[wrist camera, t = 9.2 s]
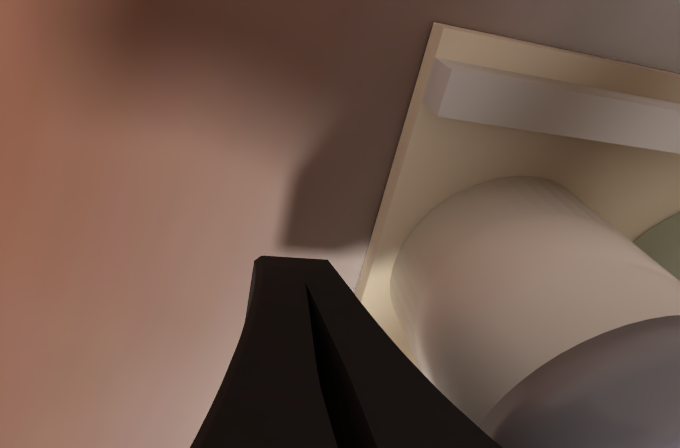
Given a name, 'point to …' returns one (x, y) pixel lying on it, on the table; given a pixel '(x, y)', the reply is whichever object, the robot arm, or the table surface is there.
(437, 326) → the cream jar
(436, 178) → the lane
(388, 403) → the robot arm
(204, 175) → the table surface
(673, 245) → the green jar
